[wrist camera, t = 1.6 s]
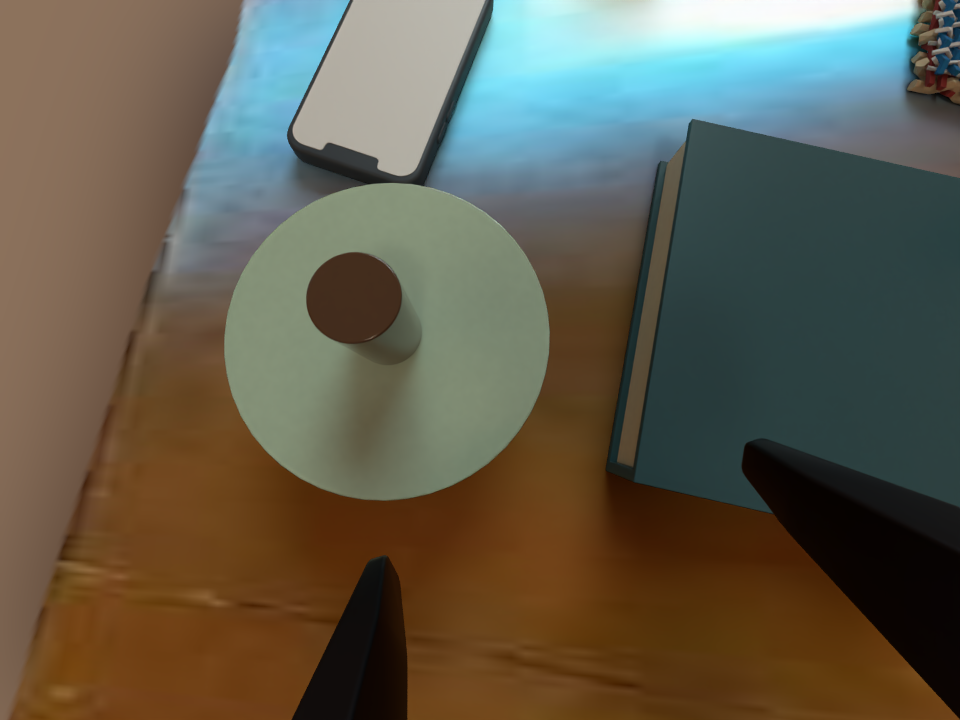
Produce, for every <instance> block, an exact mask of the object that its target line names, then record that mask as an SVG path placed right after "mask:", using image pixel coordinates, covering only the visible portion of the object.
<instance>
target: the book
mask: <svg viewBox="0 0 960 720" xmlns="http://www.w3.org/2000/svg"><path fill="white" fill-rule="evenodd" d="M759 438H765V439H768V440H771V441H774V442H777V443H780V444H783V445H785V446H788V447H791V448H794V449H797V450H800V451H802V452H805V453H808V454H811V455H814V456H817V457H819V458H822V459H825V460H828V461H831V462H834V463H836V464H839V465H842V466H845V467H848V468H851V469H853V470H856V471H859V472H862V473H865V474H868V475H870V476H873V477H876V478H879V479H882V480H885V481H887V482H890V483H893V484H896V485H899V486H902V487H904V488H907V489H910V490H913V491H916V492H919V493H921V494H924V495H927V496H930V497H933V498H935V499H938V500H941V501H944V502H947V503H950V504H952V505H955V506H958V507H960V178H957V177H952V176H948V175H943V174H939V173H934V172H930V171H925V170H921V169H916V168H912V167H907V166H903V165H898V164H894V163H889V162H885V161H880V160H875V159H871V158H866V157H862V156H857V155H853V154H848V153H844V152H839V151H835V150H830V149H826V148H821V147H817V146H812V145H808V144H803V143H799V142H794V141H790V140H785V139H781V138H776V137H772V136H767V135H763V134H758V133H754V132H749V131H745V130H740V129H736V128H731V127H727V126H722V125H718V124H713V123H709V122H704V121H700V120H695V119H692V120H691V122H690V123H689V126H688V132H687V138H686V141H685V142H684V144H683V145H682V146H681V148H680V149H679V150H678V151H677V153H676V154H675V155H674V156H673V158H672V159H671V160H670V162H669V163H668V162H664V161H660V163H659V164H658V169H657V174H656V180H655V186H654V192H653V198H652V203H651V209H650V215H649V221H648V227H647V232H646V238H645V244H644V250H643V256H642V262H641V267H640V273H639V279H638V285H637V291H636V296H635V302H634V308H633V314H632V320H631V325H630V331H629V337H628V343H627V349H626V354H625V360H624V366H623V372H622V378H621V383H620V389H619V395H618V401H617V407H616V412H615V418H614V424H613V430H612V436H611V442H610V447H609V453H608V459H607V465H606V471H608V472H610V473H613V474H615V475H618V476H620V477H623V478H625V479H627V480H630V481H632V482H635V483H639V484H643V485H648V486H652V487H657V488H661V489H665V490H670V491H674V492H679V493H683V494H687V495H692V496H696V497H701V498H705V499H709V500H714V501H718V502H723V503H727V504H731V505H736V506H740V507H745V508H749V509H753V510H758V511H762V512H767V513H771V514H774V513H773V512H772V511H771V510H770V508H769V507H768V506H767V504H766V503H765V502H764V500H763V499H762V498H761V497H760V495H759V494H758V493H757V491H756V490H755V489H754V487H753V486H752V485H751V483H750V482H749V481H748V480H747V478H746V477H745V475H744V474H743V471H742V468H741V464H742V457H743V451H744V446H745V444H746V443H747V442H749V441H753V440H756V439H759Z"/></svg>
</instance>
